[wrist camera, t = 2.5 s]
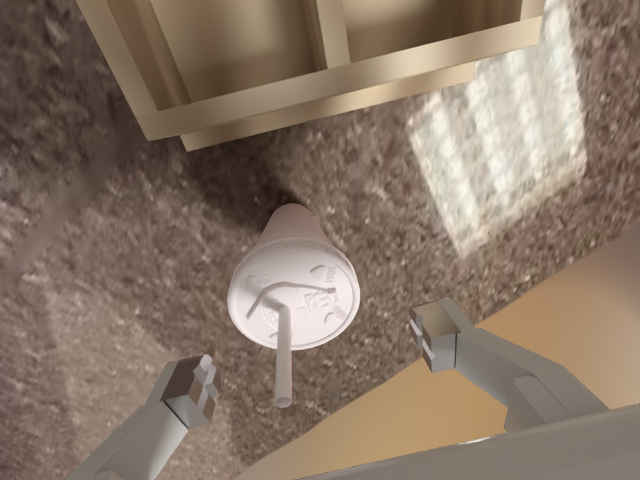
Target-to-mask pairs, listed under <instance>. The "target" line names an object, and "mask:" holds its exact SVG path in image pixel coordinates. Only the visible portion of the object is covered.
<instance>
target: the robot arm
mask: <svg viewBox="0 0 640 480" xmlns="http://www.w3.org/2000/svg"><path fill="white" fill-rule="evenodd" d="M409 314H410V316H411V318H412V320H411V322H410V327H411V332H412V335H413V338H414V340H415V342H416V344H417V346H418V347H419V348H421V349H422V350H423V357H424V359H425V361H426V363H427V365H428V367H429V369H430V370H431V372H432V373H434V372H439V371H444V370H449V369H454V368H455V370H457V371H458V372H459V373H461V374H462V375H464V376H465V377H466V378H468V379H469V380H470V381H472V382H473V383H475V384H476V385H477V386H478V387H480V388H481V389H483V390H484V391H485V392H487V393H488V394H489V395H491V396H492V397H493V398H495V399H496V400H498V401H499V402H500V403H502V404H503V405H504V406H506V407H507V408H508V410H507V415H506V419H505V423H504V429H505V430H506V432H507V433H503V434H498V435H494V436H489V437H485V438H480V439H476V440H471V441H466V442H462V443H457V444H453V445H449V446H444V447H439V448H435V449H430V450H426V451H421V452H417V453H412V454H408V455H403V456H399V457H394V458H390V459H386V460H381V461H376V462H372V463H367V464H363V465H358V466H353V467H349V468H345V469H340V470H335V471H331V472H326V473H322V474H317V475H313V476H308V477H304V478H300V479H295V480H640V403H638V404H633V405H629V406H624V407H620V408H616V409H611V410H610V409H609V408H608V407H607V406H606V405H605V404H604V403H602V401H600V400H599V399H598V398H597V397H596V396H595V395H594V394H593V393H592V392H591V391H590V390H589V389H587V387H585V386H584V385H583V384H582V383H581V382H580V381H579V380H578V379H577V378H576V377H575V376H573V374H572V373H570V372H569V371H568V370H567V369H566V368H565V367H564V366H562V365H560V364H558V363H556V362H553V361H551V360H549V359H547V358H544V357H543V356H540V355H538V354H536V353H534V352H531V351H530V350H527V349H525V348H523V347H521V346H519V345H516V344H514V343H512V342H510V341H508V340H505V339H503V338H501V337H499V336H497V335H495V334H492V333H490V332H488V331H486V330H484V329H482V328H479V329H476V328H475V327H474V325H473V324H472V323H471V322H470V321H469V320H468V318H467V317H466V316H465V315H464V314H463V313H462V311H461V310H460V309H459V308H458V307H457V306H456V304H455V303H454V302H453V301H452V300H451V299H450V298H444V299H439V300H435V301H431V302H427V303H423V304H419V305H415V306H411V307H410V308H409ZM211 362H212V359H211V358H210V356H209V355H201V356H197V357H192V358H187V359H182V360H178V361H173V362H169V363H168V364H167V365H166V366H165V367H164V369H163V371H162V373H161V375H160V377H159V379H158V380H157V382H156V384H155V386H154V388H153V390H152V392H151V394H150V396H149V398H148V400H147V401H146V403H145V405H144V406H140V407H139V408H138V409H137V410H136V411H135V412H134V413H133V414H132V415H131V416H130V417H129V418H128V419H127V420H126V421H125V422H124V423H123V424H122V425H121V426H120V427H119V428H118V429H117V430H116V431H114V432H113V433H112V434H111V435H110V436H109V437H108V438H107V439H106V440H105V441H104V442H103V443H102V444H101V445H100V446H99V447H98V448H97V449H96V450H95V451H94V452H93V453H92V454H91V455H90V456H89V457H88V458H87V459H86V460H85V461H84V462H83V463H81V464H80V465H79V466H78V467H77V468H76V469H75V470H74V471H73V472H72V473H71V474H70V475H69V476H68V477H67V478H66V480H154V479H155V478H156V476H157V475H158V473H159V472H160V470H161V469H162V468H163V466H164V465H165V463H166V462H167V460H168V459H169V458H170V456H171V455H172V453H173V452H174V450H175V449H176V447H177V446H178V445H179V443H180V442H181V440H182V439H183V437H184V436H185V435H186V433H187V432H188V429H190V428H194V427H198V426H202V425H206V424H209V423H211V419H212V416H213V412H214V409H215V405H216V404H215V402H214V398H215V397H216V395H217V394H218V393H219V390H220V386H221V375H220V372H219V370H218V368H217V367H215V366H213V365H211Z"/></svg>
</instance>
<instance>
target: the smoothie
mask: <svg viewBox="0 0 640 480" xmlns="http://www.w3.org/2000/svg"><path fill="white" fill-rule="evenodd" d="M227 301H228V310H229V313H230V316H231V318H232V321H233V322H234V324H235V325H236V327H237V328H238V329H239V330H240V331H241V332H242V333H243V334H244V335H245V336H247V337H248V338H249V339H251V340H253V341H254V342H256V343H259V344H261V345H263V346H266V347H270V348H274V349H277V359H276V381H275V405H276V406H278V407H287V406H289V405H290V404H291V403H292V374H291V350H301V349H307V348H312V347H315V346H318V345H321V344H323V343H325V342H327V341H329V340H331V339H333V338H334V337H336V336H337V335H339V334H340V333H341V332H342V331H343V330H344V329H345V328H346V327H347V326H348V325H349V324H350V323H351V321H352V320H353V318H354V317H355V315H356V313H357V310H358V307H359V303H360V289H359V285H358V281H357V277H356V274H355V271H354V268H353V266H352V264H351V263H350V262H349V260H348V259H347V258H346V256H345V255H344V254H343V253H342V252H340V251H339V250H338V249H336V248H335V247H333V246H332V244H331V243H330V241H329V240H328V238H327V237H326V235H325V234H324V232H323V230H322V229H321V227H320V226H319V224H318V223H317V221H316V219H315V218H314V216H313V215H312V213H311V212H310V211H309V210H308V209H307V208H306V207H304V206H302V205H300V204H294V203H290V204H285V205H282V206H280V207H279V208H277V209H276V210H275V211H274V213H273V214H272V216H271V218H270V220H269V221H268V223H267V225H266V227H265V229H264V231H263V232H262V234H261V236H260V238H259V240H258V242H257V244H256V245H255V247H254V249H253V251H251V252H250V253H249V254H247V255H246V256H245V257H244V258H243V259H242V261H241V262H240V263H239V265H238V266H237V267H236V268H235V271H234V274H233V277H232V279H231V282H230V288H229V292H228V300H227Z"/></svg>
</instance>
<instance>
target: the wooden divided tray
mask: <svg viewBox="0 0 640 480" xmlns="http://www.w3.org/2000/svg"><path fill="white" fill-rule="evenodd" d="M76 2H77V4H78V6H79V8H80V10H81V12H82V14H83V16H84V18H85V20H86V22H87V24H88V26H89V28H90V30H91V32H92V34H93V35H94V37H95V39H96V41H97V43H98V45H99V47H100V49H101V51H102V53H103V55H104V57H105V59H106V61H107V63H108V65H109V67H110V69H111V71H112V72H113V74H114V76H115V78H116V80H117V82H118V84H119V86H120V88H121V90H122V92H123V94H124V96H125V98H126V100H127V102H128V104H129V106H130V108H131V109H132V111H133V113H134V115H135V117H136V119H137V121H138V123H139V125H140V127H141V129H142V131H143V133H144V135H145V137H146V139H147V141H152V140H157V139H162V138H167V137H172V136H177V135H180V137H181V139H182V142H183V144H184V146H185V148H186V150H187V152H188V151H192V150H196V149H200V148H204V147H208V146H212V145H216V144H220V143H224V142H228V141H232V140H236V139H240V138H244V137H248V136H252V135H256V134H260V133H264V132H268V131H272V130H276V129H280V128H284V127H288V126H292V125H296V124H300V123H304V122H308V121H312V120H316V119H320V118H324V117H328V116H332V115H336V114H340V113H344V112H348V111H352V110H356V109H360V108H364V107H368V106H372V105H376V104H380V103H384V102H388V101H392V100H396V99H400V98H404V97H408V96H412V95H416V94H420V93H424V92H428V91H432V90H436V89H440V88H444V87H448V86H452V85H456V84H460V83H464V82H468V81H472V80H474V71H475V61H478V60H482V59H485V58H489V57H492V56H496V55H499V54H503V53H507V52H510V51H514V50H517V49H521V48H524V47H528V46H532V45H535V44H538V40H539V34H540V28H541V21H542V15H543V8H544V2H545V0H76Z"/></svg>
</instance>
